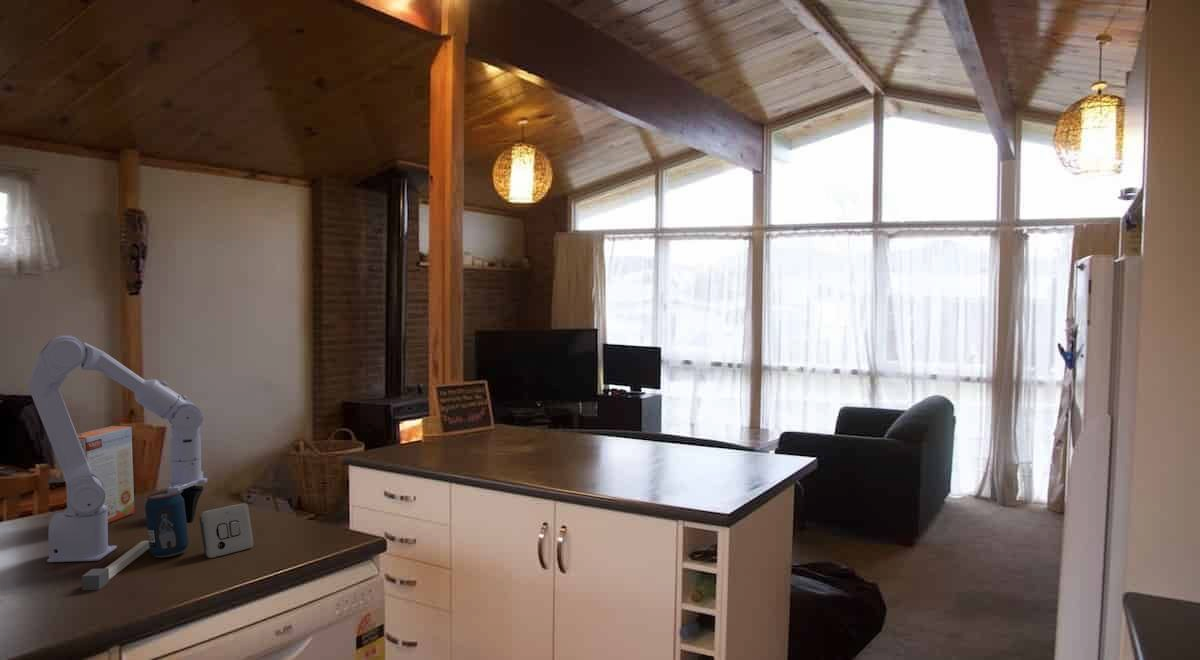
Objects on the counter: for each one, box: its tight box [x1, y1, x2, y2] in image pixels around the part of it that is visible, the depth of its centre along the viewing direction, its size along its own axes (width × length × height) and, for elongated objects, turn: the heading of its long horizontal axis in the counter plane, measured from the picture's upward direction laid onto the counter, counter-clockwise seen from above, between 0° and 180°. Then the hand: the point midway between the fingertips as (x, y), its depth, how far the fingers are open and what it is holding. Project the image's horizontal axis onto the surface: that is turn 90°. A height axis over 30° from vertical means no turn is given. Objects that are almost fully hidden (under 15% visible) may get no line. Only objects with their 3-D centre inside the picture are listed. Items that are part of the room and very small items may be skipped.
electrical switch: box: [198, 503, 254, 559], centre depth 162 cm, size 9×5×9 cm, turn 141°
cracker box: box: [65, 425, 135, 524], centre depth 180 cm, size 14×6×21 cm, turn 172°
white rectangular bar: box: [81, 540, 150, 591], centre depth 152 cm, size 3×23×3 cm, turn 8°
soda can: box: [144, 490, 190, 558], centre depth 159 cm, size 7×7×12 cm
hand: (186, 522), depth 168 cm, fingers closed
